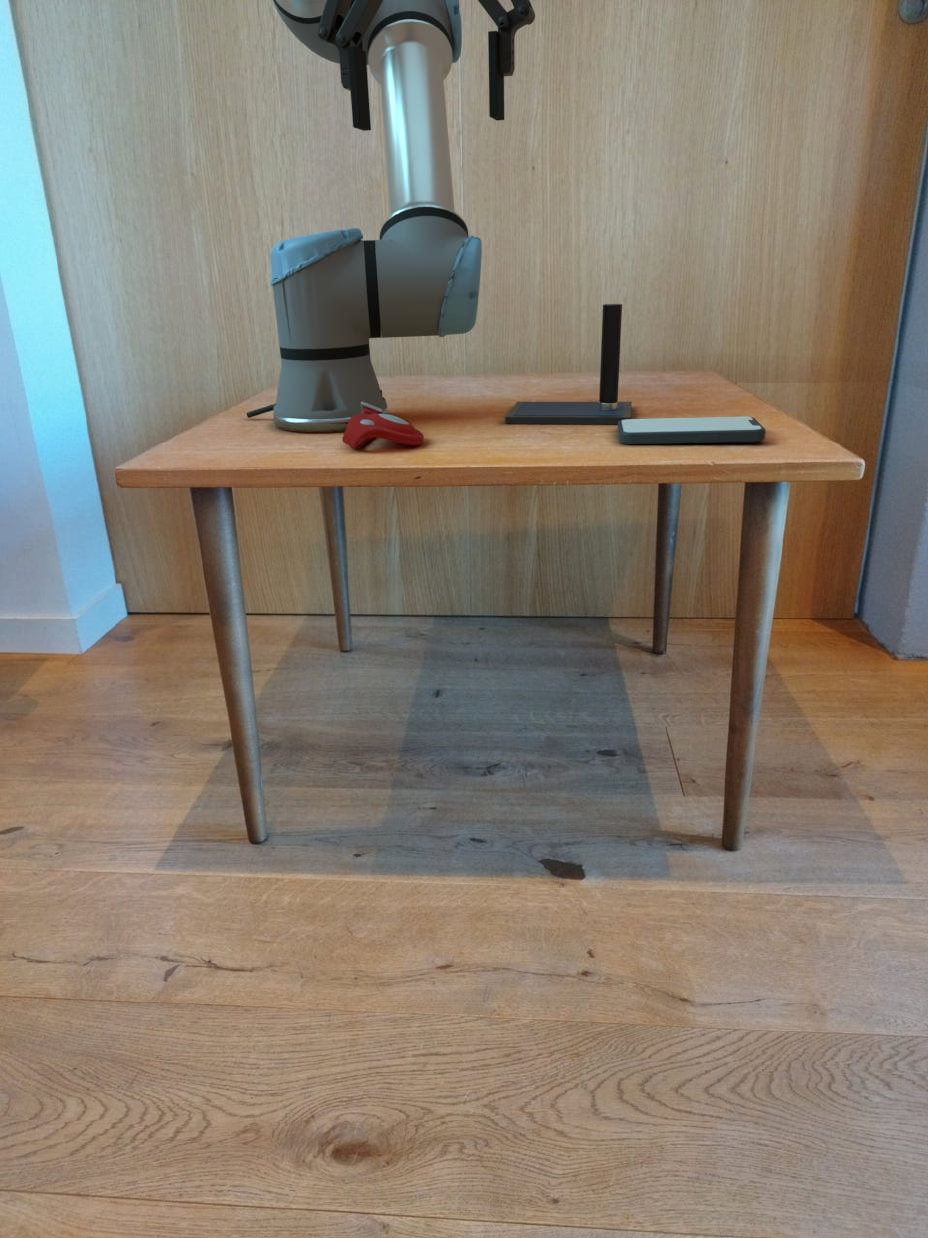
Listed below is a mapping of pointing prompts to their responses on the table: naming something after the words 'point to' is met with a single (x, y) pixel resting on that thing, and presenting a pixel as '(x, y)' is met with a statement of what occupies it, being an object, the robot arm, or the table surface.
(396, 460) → the table surface
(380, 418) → the red curved piece
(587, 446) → the table surface
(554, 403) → the tablet
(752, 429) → the phone case
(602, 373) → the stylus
